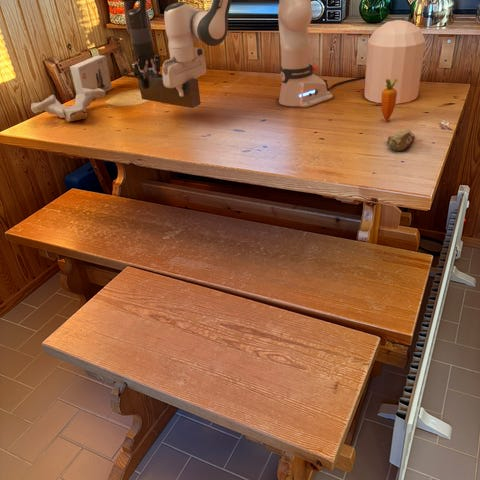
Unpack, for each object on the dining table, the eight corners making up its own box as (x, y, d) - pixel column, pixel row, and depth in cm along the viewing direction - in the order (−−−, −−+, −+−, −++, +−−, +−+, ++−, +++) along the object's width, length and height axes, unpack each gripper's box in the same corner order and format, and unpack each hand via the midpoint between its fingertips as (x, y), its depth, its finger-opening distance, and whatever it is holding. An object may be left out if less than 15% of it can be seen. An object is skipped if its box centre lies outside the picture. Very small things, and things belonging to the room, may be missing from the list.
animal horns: (27, 127, 191) (17, 99, 184) (60, 107, 212) (52, 81, 206) (89, 127, 185) (81, 97, 179) (116, 106, 206) (110, 79, 200)
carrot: (394, 118, 167) (398, 76, 158) (393, 123, 163) (397, 80, 154) (379, 117, 168) (383, 75, 160) (378, 122, 165) (382, 80, 156)
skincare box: (87, 102, 214) (77, 67, 204) (78, 102, 215) (68, 66, 206) (113, 88, 229) (105, 54, 220) (104, 88, 231) (96, 54, 222)
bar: (141, 99, 184) (137, 75, 179) (150, 95, 187) (145, 71, 182) (192, 108, 170) (189, 82, 165) (200, 104, 173) (197, 79, 168)
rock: (408, 140, 153) (379, 139, 152) (414, 122, 149) (384, 120, 148) (421, 154, 144) (391, 153, 143) (428, 135, 140) (396, 133, 139)
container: (387, 107, 176) (395, 28, 160) (353, 94, 192) (357, 21, 176) (429, 96, 183) (441, 19, 167) (393, 84, 199) (400, 12, 183)
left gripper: (148, 35, 178) (156, 80, 187) (120, 44, 168) (130, 91, 178) (162, 36, 174) (169, 82, 184) (134, 45, 165) (144, 93, 174)
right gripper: (168, 62, 155) (175, 103, 163) (206, 48, 168) (211, 86, 176) (155, 61, 158) (162, 101, 166) (193, 47, 171) (198, 84, 179)
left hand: (150, 86), depth 181 cm, fingers closed on bar, 4 cm apart
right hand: (187, 93), depth 171 cm, fingers closed on bar, 5 cm apart
